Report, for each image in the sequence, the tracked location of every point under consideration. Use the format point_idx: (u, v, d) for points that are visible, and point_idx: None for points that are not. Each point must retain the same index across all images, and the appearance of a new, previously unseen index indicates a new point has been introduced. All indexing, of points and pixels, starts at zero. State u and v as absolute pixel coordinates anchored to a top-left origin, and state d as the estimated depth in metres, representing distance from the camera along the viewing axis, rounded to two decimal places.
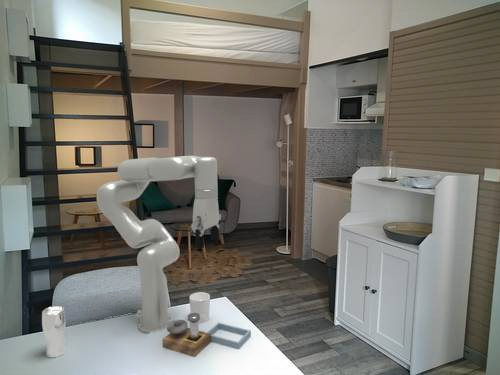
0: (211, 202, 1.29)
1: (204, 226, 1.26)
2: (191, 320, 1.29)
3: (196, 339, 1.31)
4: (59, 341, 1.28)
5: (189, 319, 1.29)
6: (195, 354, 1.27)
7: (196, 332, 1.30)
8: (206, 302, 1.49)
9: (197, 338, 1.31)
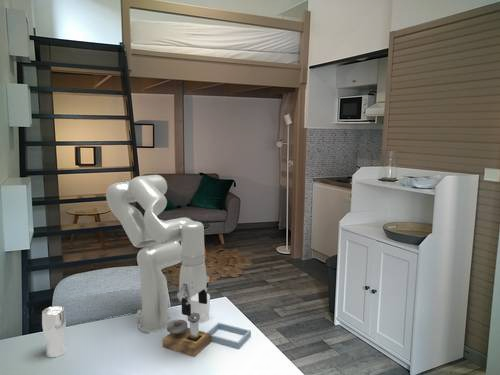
0: (198, 268, 1.26)
1: (191, 294, 1.24)
2: (191, 320, 1.29)
3: (196, 339, 1.31)
4: (59, 341, 1.28)
5: (189, 319, 1.29)
6: (195, 354, 1.27)
7: (196, 332, 1.30)
8: None
9: (197, 338, 1.31)
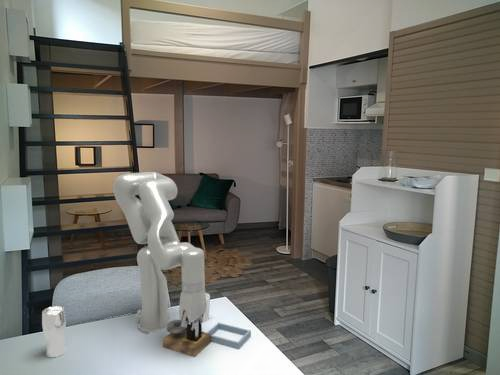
0: (198, 294, 1.28)
1: (190, 320, 1.26)
2: None
3: (196, 339, 1.31)
4: (59, 341, 1.28)
5: None
6: (195, 354, 1.27)
7: (196, 332, 1.30)
8: (206, 302, 1.49)
9: (197, 338, 1.31)
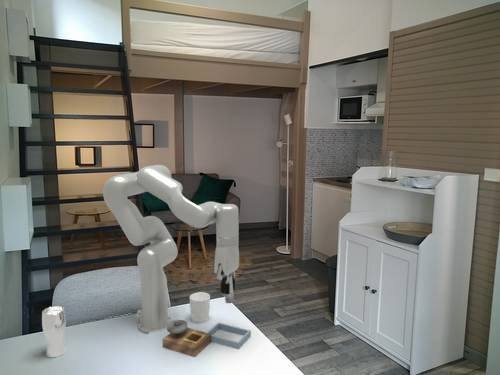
0: (233, 249, 1.31)
1: (225, 273, 1.29)
2: None
3: (231, 293, 1.34)
4: (59, 341, 1.28)
5: (223, 273, 1.33)
6: (195, 354, 1.27)
7: (230, 286, 1.34)
8: (206, 302, 1.49)
9: (232, 292, 1.34)
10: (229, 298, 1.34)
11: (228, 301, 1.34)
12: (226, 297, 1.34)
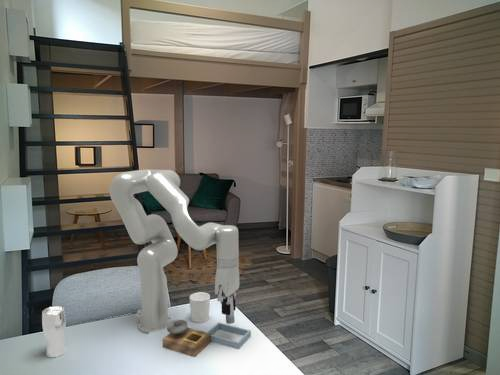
0: (233, 270, 1.32)
1: (226, 294, 1.30)
2: None
3: (232, 314, 1.35)
4: (59, 341, 1.28)
5: (224, 294, 1.34)
6: (195, 354, 1.27)
7: (231, 307, 1.35)
8: (206, 302, 1.49)
9: (232, 313, 1.35)
10: (229, 319, 1.35)
11: (229, 321, 1.35)
12: (227, 318, 1.35)
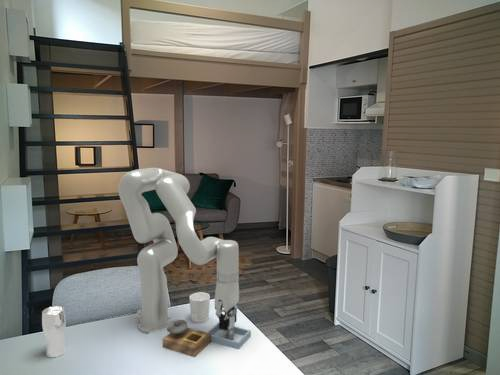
0: (233, 285, 1.33)
1: (226, 309, 1.31)
2: (229, 314, 1.34)
3: (232, 332, 1.36)
4: (59, 341, 1.28)
5: None
6: (195, 354, 1.27)
7: (232, 326, 1.36)
8: (206, 302, 1.49)
9: (233, 331, 1.36)
10: (229, 337, 1.36)
11: None
12: (227, 335, 1.36)
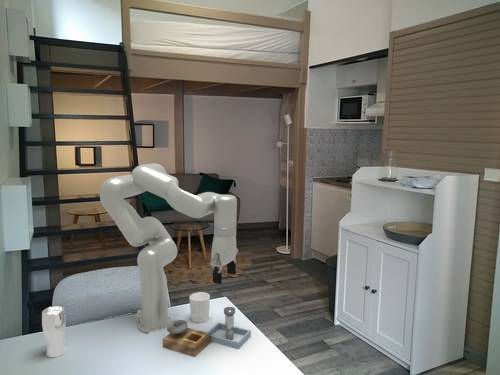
0: (230, 239, 1.32)
1: (222, 263, 1.30)
2: (227, 313, 1.34)
3: (231, 332, 1.36)
4: (59, 341, 1.28)
5: (225, 312, 1.35)
6: (195, 354, 1.27)
7: (231, 325, 1.36)
8: (206, 302, 1.49)
9: (232, 331, 1.36)
10: (229, 337, 1.36)
11: None
12: (226, 335, 1.36)
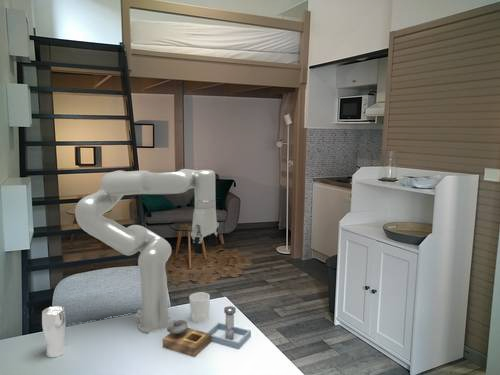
0: (210, 212, 1.39)
1: (203, 234, 1.37)
2: (228, 312, 1.35)
3: (231, 331, 1.36)
4: (59, 341, 1.28)
5: (226, 311, 1.35)
6: (195, 354, 1.27)
7: (232, 324, 1.36)
8: (206, 302, 1.49)
9: (232, 330, 1.37)
10: (229, 336, 1.36)
11: None
12: (226, 335, 1.36)
